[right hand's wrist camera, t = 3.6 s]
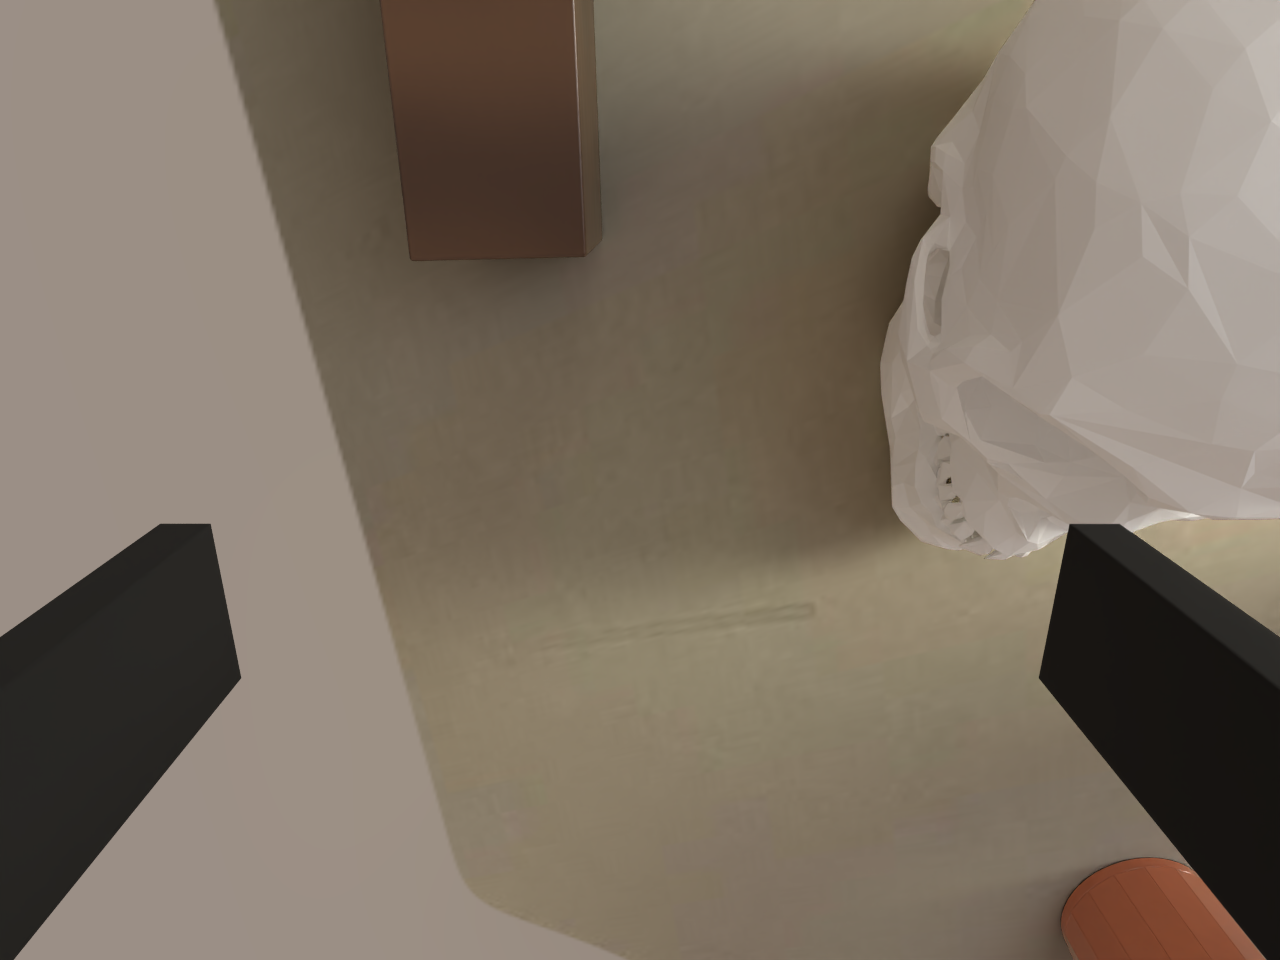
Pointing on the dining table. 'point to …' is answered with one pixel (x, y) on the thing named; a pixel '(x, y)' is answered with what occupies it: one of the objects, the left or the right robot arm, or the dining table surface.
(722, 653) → the dining table surface
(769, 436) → the dining table surface
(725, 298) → the dining table surface
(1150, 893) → the terracotta cup
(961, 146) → the skull
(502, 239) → the walnut block
